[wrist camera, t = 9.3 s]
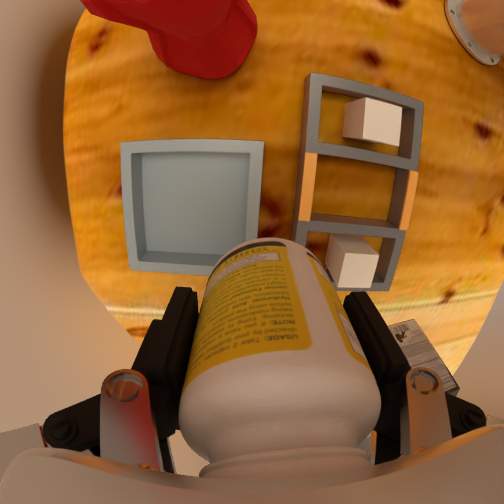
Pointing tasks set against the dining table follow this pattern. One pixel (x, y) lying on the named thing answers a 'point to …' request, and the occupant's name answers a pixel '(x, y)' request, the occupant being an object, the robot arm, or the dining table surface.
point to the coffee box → (422, 352)
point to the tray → (189, 201)
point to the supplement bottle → (276, 370)
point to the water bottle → (189, 31)
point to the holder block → (404, 161)
